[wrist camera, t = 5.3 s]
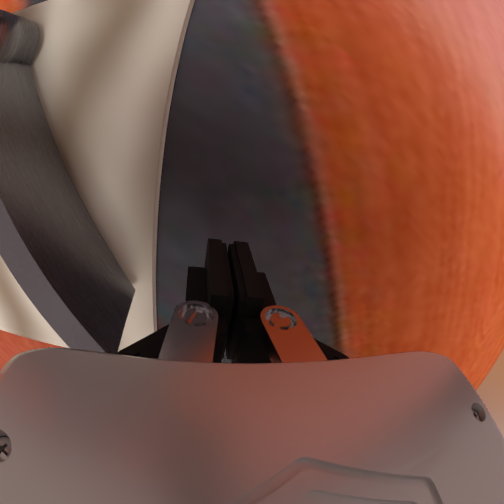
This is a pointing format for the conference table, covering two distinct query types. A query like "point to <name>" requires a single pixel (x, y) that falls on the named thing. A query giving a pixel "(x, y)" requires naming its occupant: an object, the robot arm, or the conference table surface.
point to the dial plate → (107, 134)
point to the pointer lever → (51, 213)
